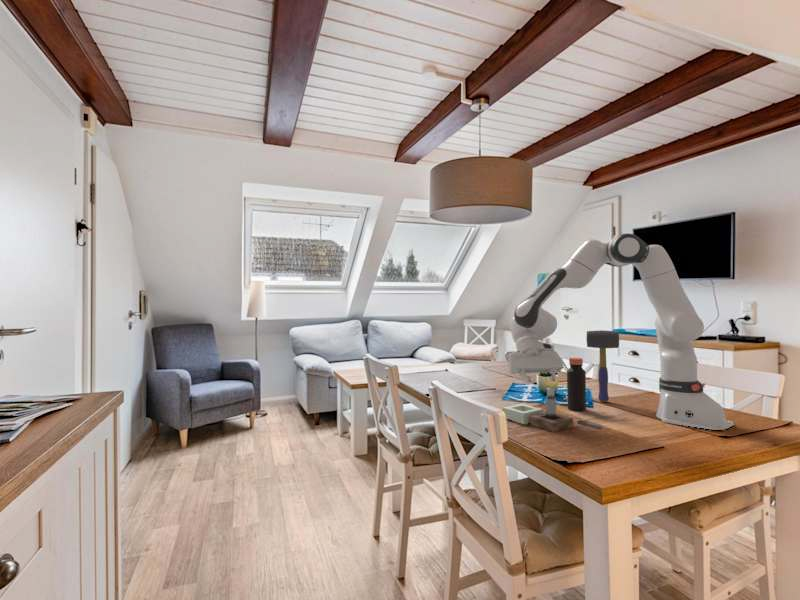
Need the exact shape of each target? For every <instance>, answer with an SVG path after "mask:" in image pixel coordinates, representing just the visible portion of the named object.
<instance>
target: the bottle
mask: <svg viewBox="0 0 800 600" xmlns="http://www.w3.org/2000/svg"><path fill="white" fill-rule="evenodd" d="M568 360H569V362H568V363H569V368H568V369H567V370H566V390H567V391H566V393H567V394H566V395H567V396H566V397H567V398H566V399H567V402H566V403H567V409H568V410H571V411H575V412H583V411H586V410H587V388H586V387H587V386H586V385H587V382H586V380H587V379H586V376H587V375H586V374H587V373H586V371H585V370H584V368H583V364H584V362H583V358H581V357H569V359H568Z"/></svg>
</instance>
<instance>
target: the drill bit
mask: <svg viewBox="0 0 800 600" xmlns="http://www.w3.org/2000/svg"><path fill="white" fill-rule="evenodd" d="M545 413H546V418H547V419H550V420H555V419H556V414H557V398H556V397H555V387H547V388H546V397H545Z"/></svg>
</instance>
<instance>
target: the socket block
mask: <svg viewBox="0 0 800 600" xmlns="http://www.w3.org/2000/svg"><path fill="white" fill-rule="evenodd" d="M529 425H530V426H533V427H536V428H539V427H540V429H542V428H543V430H545V429H547V430H546V431H549V430H550V431H549V432H552V433H555V431H556V432H560V431H562V430H567V429H570V428H573V427H574V418H573V417H571V416H566V415H562V414H560V413H556V419H555V420H550V419H547V418H546V412H543V413H541V414H537V415H533V416H530V424H529Z"/></svg>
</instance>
